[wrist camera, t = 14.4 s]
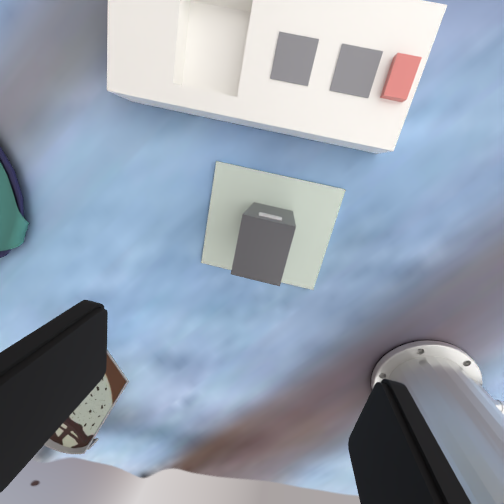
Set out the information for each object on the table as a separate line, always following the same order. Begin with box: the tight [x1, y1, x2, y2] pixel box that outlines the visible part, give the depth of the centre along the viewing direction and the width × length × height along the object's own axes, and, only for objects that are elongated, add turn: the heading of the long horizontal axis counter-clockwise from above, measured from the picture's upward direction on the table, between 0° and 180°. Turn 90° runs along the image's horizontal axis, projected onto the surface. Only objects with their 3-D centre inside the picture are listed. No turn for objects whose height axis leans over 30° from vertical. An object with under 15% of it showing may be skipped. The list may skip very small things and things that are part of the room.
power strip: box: [107, 0, 447, 154], centre depth 22 cm, size 26×10×5 cm, turn 78°
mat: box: [201, 161, 345, 290], centre depth 29 cm, size 14×12×1 cm
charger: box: [231, 202, 296, 286], centre depth 25 cm, size 4×6×8 cm
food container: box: [44, 350, 129, 454], centre depth 34 cm, size 12×6×10 cm, turn 24°
